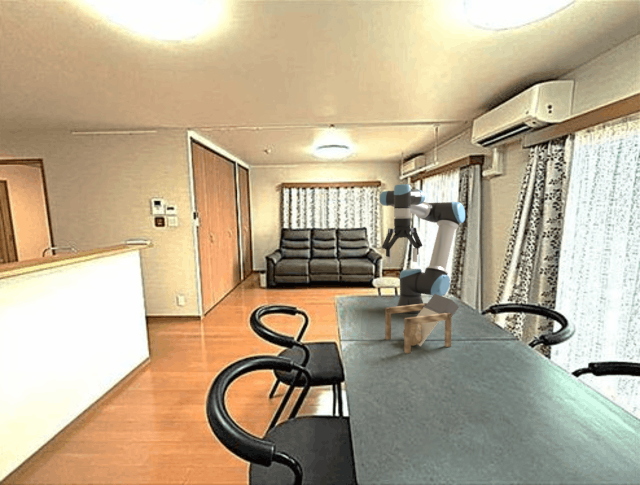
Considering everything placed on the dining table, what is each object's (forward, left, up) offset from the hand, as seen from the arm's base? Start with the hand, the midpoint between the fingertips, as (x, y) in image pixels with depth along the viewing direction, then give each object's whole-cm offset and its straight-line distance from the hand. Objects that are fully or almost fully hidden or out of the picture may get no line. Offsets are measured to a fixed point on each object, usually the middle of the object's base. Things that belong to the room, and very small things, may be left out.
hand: (402, 262), depth 169 cm
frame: (+4, +19, -32) cm, 37 cm away
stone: (+5, +20, -28) cm, 35 cm away
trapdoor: (-4, +19, -25) cm, 32 cm away
